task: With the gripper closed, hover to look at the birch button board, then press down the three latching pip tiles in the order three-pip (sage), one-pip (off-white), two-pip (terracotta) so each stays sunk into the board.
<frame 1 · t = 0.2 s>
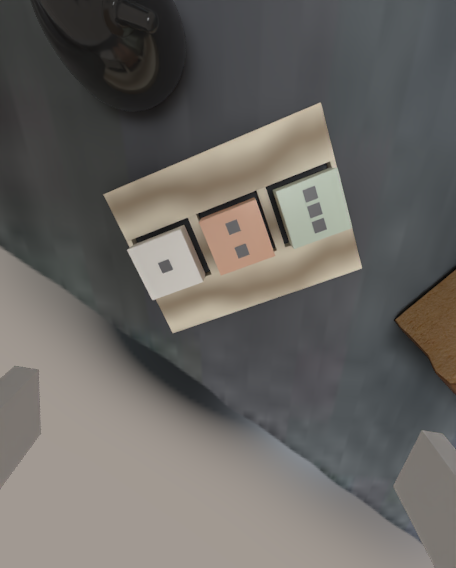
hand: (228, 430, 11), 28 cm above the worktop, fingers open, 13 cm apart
pump dispenser: (141, 61, 31), on the worktop
tile three: (311, 208, 31), point 4 cm above the worktop, slide at 0.0 cm
tile one: (168, 262, 33), point 4 cm above the worktop, slide at 0.0 cm
tile two: (237, 236, 32), point 4 cm above the worktop, slide at 0.0 cm
board: (237, 230, 36), on the worktop
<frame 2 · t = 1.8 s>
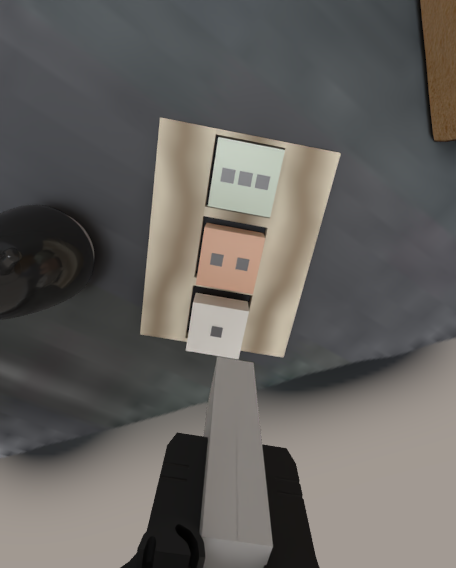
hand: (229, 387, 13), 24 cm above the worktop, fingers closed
pump dispenser: (64, 245, 36), on the worktop
tile three: (244, 178, 29), point 4 cm above the worktop, slide at 0.0 cm
tile one: (217, 326, 35), point 4 cm above the worktop, slide at 0.0 cm
tile two: (229, 258, 32), point 4 cm above the worktop, slide at 0.0 cm
board: (229, 250, 36), on the worktop
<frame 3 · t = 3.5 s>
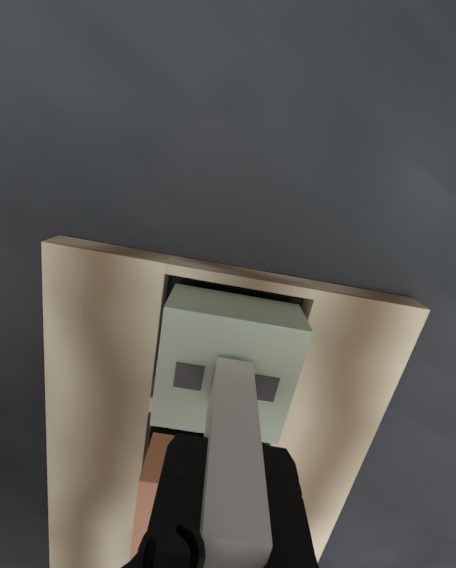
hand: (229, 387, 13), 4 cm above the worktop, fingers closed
tile three: (226, 363, 14), point 3 cm above the worktop, slide at -1.2 cm, touching gripper
tile two: (198, 506, 16), point 4 cm above the worktop, slide at 0.0 cm
board: (204, 446, 20), on the worktop
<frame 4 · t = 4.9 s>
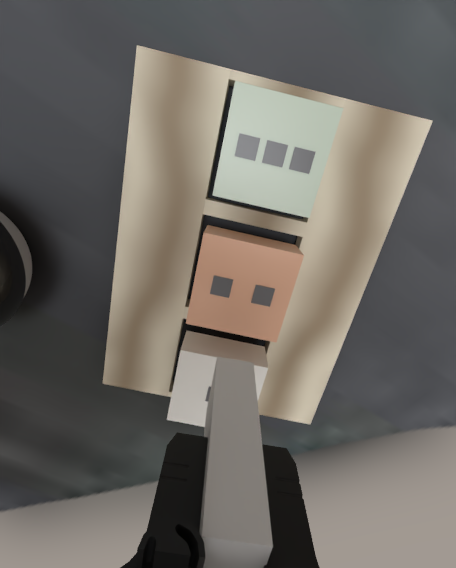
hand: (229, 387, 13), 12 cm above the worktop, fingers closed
tile three: (272, 155, 19), point 2 cm above the worktop, slide at -1.4 cm
tile one: (216, 382, 23), point 4 cm above the worktop, slide at 0.0 cm
tile two: (241, 283, 20), point 4 cm above the worktop, slide at 0.0 cm
board: (240, 267, 24), on the worktop
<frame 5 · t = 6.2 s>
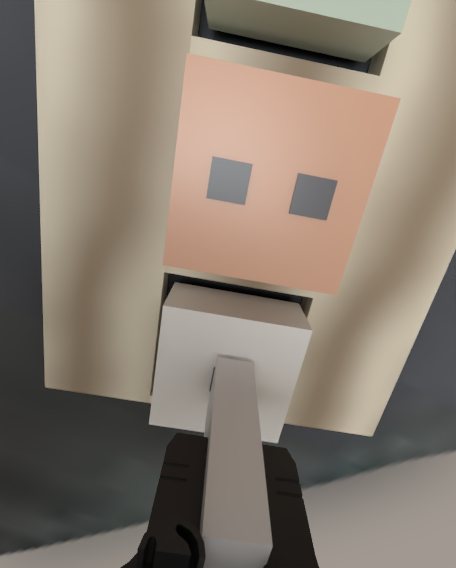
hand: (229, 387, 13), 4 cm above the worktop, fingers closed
tile one: (225, 362, 14), point 3 cm above the worktop, slide at -1.1 cm, touching gripper
tile two: (266, 187, 11), point 4 cm above the worktop, slide at 0.0 cm
board: (257, 183, 14), on the worktop
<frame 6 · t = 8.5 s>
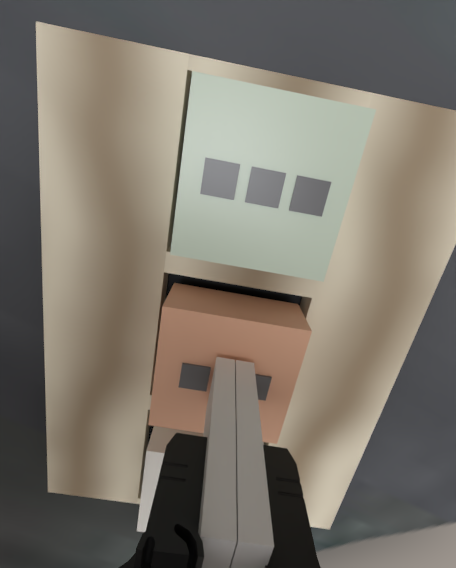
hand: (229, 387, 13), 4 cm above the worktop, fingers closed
tile three: (261, 186, 12), point 2 cm above the worktop, slide at -1.4 cm
tile one: (200, 478, 17), point 2 cm above the worktop, slide at -1.4 cm
tile two: (225, 363, 14), point 3 cm above the worktop, slide at -1.0 cm, touching gripper
board: (226, 334, 17), on the worktop
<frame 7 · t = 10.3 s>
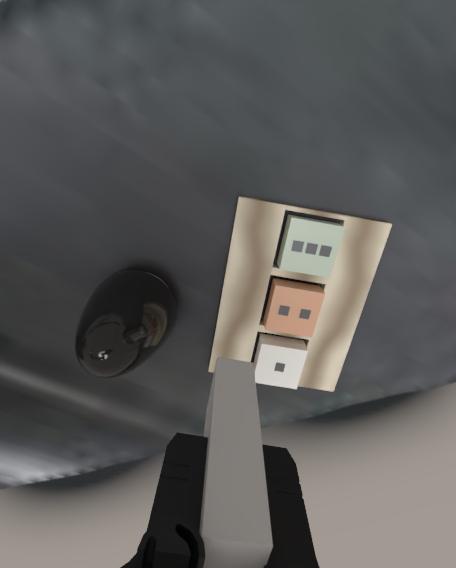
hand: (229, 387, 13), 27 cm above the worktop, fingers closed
pump dispenser: (145, 296, 42), on the worktop
tile three: (308, 246, 36), point 2 cm above the worktop, slide at -1.4 cm
tile one: (278, 361, 42), point 2 cm above the worktop, slide at -1.4 cm
tile two: (292, 307, 39), point 2 cm above the worktop, slide at -1.4 cm
board: (289, 300, 41), on the worktop
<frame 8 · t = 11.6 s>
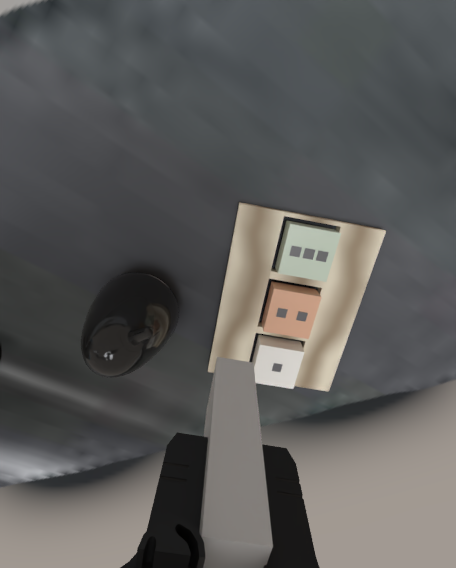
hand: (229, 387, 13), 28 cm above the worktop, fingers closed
pump dispenser: (147, 298, 43), on the worktop
tile three: (306, 251, 37), point 2 cm above the worktop, slide at -1.4 cm
tile one: (275, 361, 43), point 2 cm above the worktop, slide at -1.4 cm
tile two: (290, 310, 40), point 2 cm above the worktop, slide at -1.4 cm
board: (287, 303, 42), on the worktop
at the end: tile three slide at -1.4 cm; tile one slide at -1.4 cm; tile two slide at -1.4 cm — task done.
